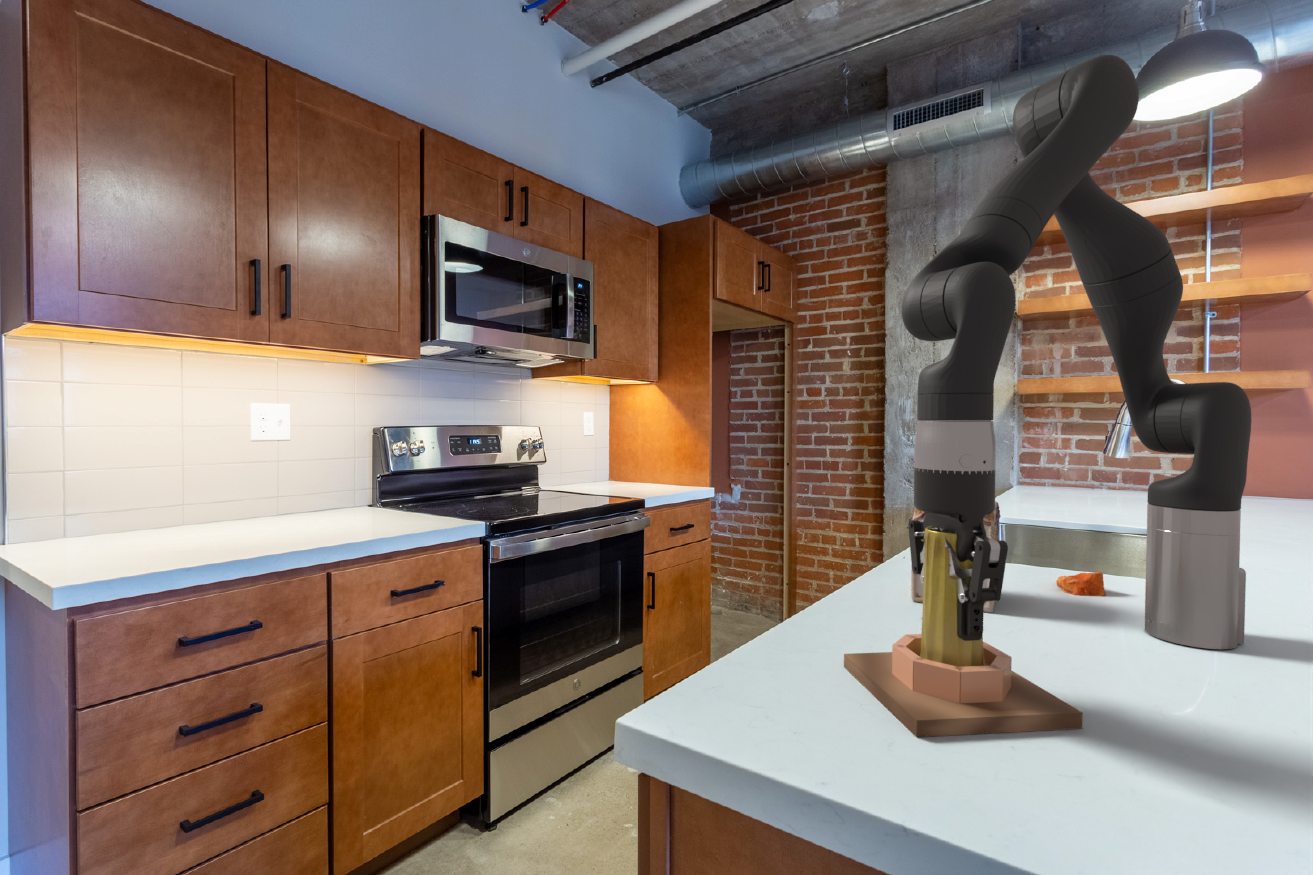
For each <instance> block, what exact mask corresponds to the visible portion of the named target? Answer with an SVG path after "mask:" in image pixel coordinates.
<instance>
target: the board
mask: <svg viewBox="0 0 1313 875" xmlns="http://www.w3.org/2000/svg"><path fill="white" fill-rule="evenodd" d="M843 668H845V669H846V670H847V672H848V673H849V674H851V675H852V677H854V678H855V679H856V680H857V681H858V682H859V683H860V684H861V685H862V686H863V687H864V688H865V689H866V690H867V691H868V692H869V693H870V694H871V695H873V697H875V699H877V701H879V702H880V704H882V706H884V707H885V708H886V709H887V710H888V711H889V712H890V713H891V714H892V715H893V716H894V717H895V718H896V719H897V720H898V721H899V722H901V724H902V725H903V726H905V727H906V728H907V729H908V730H909V732H910V733H912V735H914V736H915V737H916V738H923V737H942V736H943V737H944V736H964V735H983V734H1000V733H1002V734H1003V733H1005V734H1006V733H1021V732H1041V731H1044V732H1045V731H1063V730H1077V729H1078V730H1080V729H1083V711H1081V710H1079V709H1078V708H1077V707H1074V706H1072V705H1071V704H1069V703H1067V702H1065V701H1064V700H1063V699H1061V698H1059V697H1057V696H1056V695H1054V694H1052V693H1051V692H1048V691H1047V690H1045V689H1044V688H1042V687H1041V686H1039V685H1037V684H1035V683H1033V682H1032V681H1031V680H1028V679H1027V678H1025V677H1024V676H1022V675H1020V674H1019V673H1017V672H1015V671H1013V670H1012V669H1011V688H1010V690H1009V691H1008V693H1007V695H1006V697H1005V698H1004V700H1003V701H1002V702H980V703H957V702H953V701H949V700H945V699H942V698H938V697H934V696H930V695H927V694H923V693H919V692H915V691H912V690H911V689H910V688H909V687H908V686H906V685H905V684H904V683H903V682H902V681H900V680H899V679H898V678H897V677H896V676H894V675H893V674H892V651H889V652H888V651H886V652H882V651H881V652H860V653H859V652H857V653H856V652H855V653H843Z"/></svg>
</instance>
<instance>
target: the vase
mask: <svg viewBox="0 0 1313 875" xmlns="http://www.w3.org/2000/svg"><path fill="white" fill-rule="evenodd" d="M928 528H932V526H929V527H927V528H925V556H924V581H923V603H922V614H921V615H922V616H921V617H922V618H921V634H922V638H921V653H920V657H921V658H922V659H927V660H931V661H935V662H940V663H944V664H948V665H953V666H957V667H966V666H984V661H983V642H984V640H983V639H984V638H983V635H984V634H982V638H981V639H980V640H974V641H964V640H962V639H961V638H959V637H958V635H957V605H958V601H959V599H958V595H957V590H956V585H955V580H954V579H951V578H950V577H949V575H948V557H949V556H948V549H947V548H946V547H945V538H946V539H947V540H948V542H949V543H950V544H951V545H952V547H953V549H954V551H955V552H956V557H957V535H956V534H953V533H943V532H936V531H932V530H929V529H928ZM957 562H958V565H959V567H960V568H961V569H972V566H973V562H971V561H970V560H969V559H968V560H966V561H964V562H960V561H959V560H958V558H957ZM970 580H971V578H970V577H968V578H966V583H967V588H968V589H969V588H970Z"/></svg>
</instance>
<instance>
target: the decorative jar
mask: <svg viewBox="0 0 1313 875" xmlns="http://www.w3.org/2000/svg"><path fill="white" fill-rule="evenodd" d="M925 514H926V512H923V511H920V510H918V509H916V508H914V510H913V516H912V517H911V520H924V518H925ZM1000 518H1001V511H1000V506H999V503H998V502H997V501H996V500H995V510H994V511H993V512H992V513H991V514H987V515H986V516H985V517H984V519H983V522H984V527H985V531H986V536H987V537H988V538H990V539H992V540H993V541H1000ZM922 541H923V540H922ZM921 554H922V552H921V553H920V558H921ZM921 563H923V562H922V561H921ZM910 572H911V577H910V578H911V579H910V580H911V585H910V587H911V588H910V591H911V592H910V593H911V594H910V595H911V597H910V598H911V601H912V602H914V603H921V604H923V583H922V582H921V579H920V575H919V574H914V573H913V571H912V563H911V570H910ZM989 582H990V579H985V583H986V587H987V588H989ZM996 602H997V601H987V602H985V603H984V608H983V613H988V614H991V613H993V612H994V609H995V605H996Z"/></svg>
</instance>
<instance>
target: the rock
mask: <svg viewBox="0 0 1313 875" xmlns="http://www.w3.org/2000/svg"><path fill="white" fill-rule="evenodd" d="M1055 582H1056V586H1057V587H1058V588H1059V589H1061V590H1062V591H1063V592H1064V593H1067V594H1070V595H1072V596H1081V597H1082V596H1083V597H1084V596H1087V597H1088V596H1094V597H1104V596H1105V595H1106V591H1105V587H1104V586H1105V582H1104V573H1103V572H1102V571H1097V572H1080V573H1076V574H1075V575H1074V574H1073V575H1068V576H1067V575H1061V576H1060V575H1059V576H1058V577H1057V579H1056V580H1055Z"/></svg>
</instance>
